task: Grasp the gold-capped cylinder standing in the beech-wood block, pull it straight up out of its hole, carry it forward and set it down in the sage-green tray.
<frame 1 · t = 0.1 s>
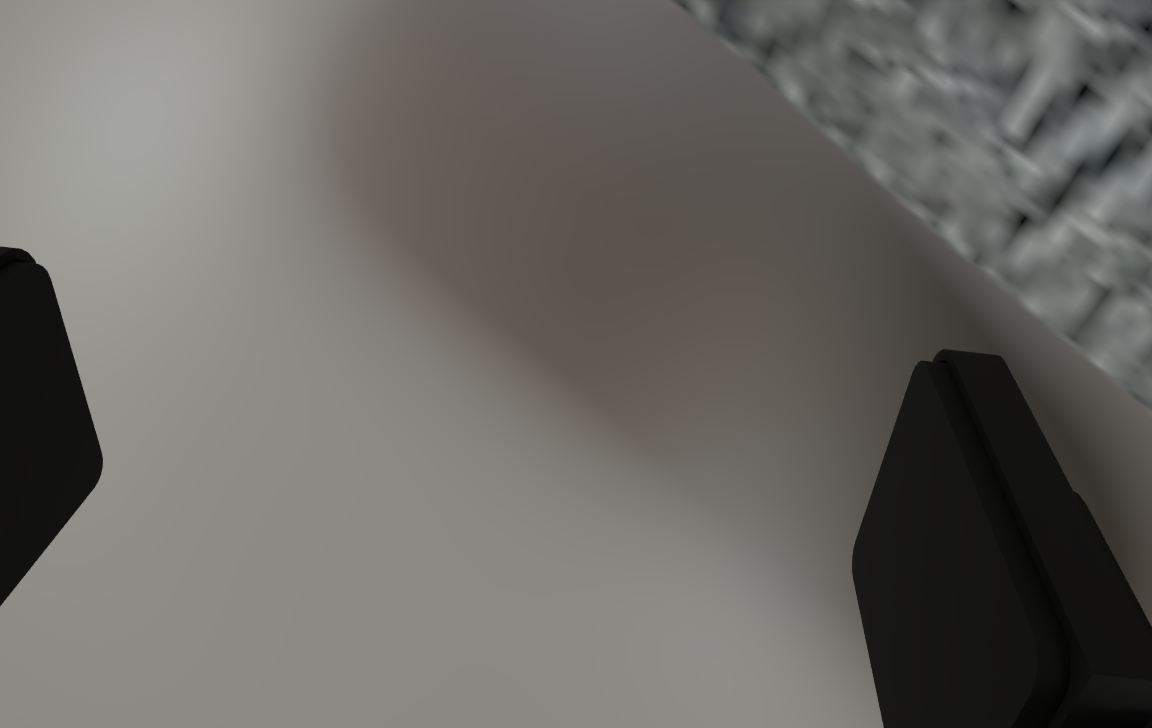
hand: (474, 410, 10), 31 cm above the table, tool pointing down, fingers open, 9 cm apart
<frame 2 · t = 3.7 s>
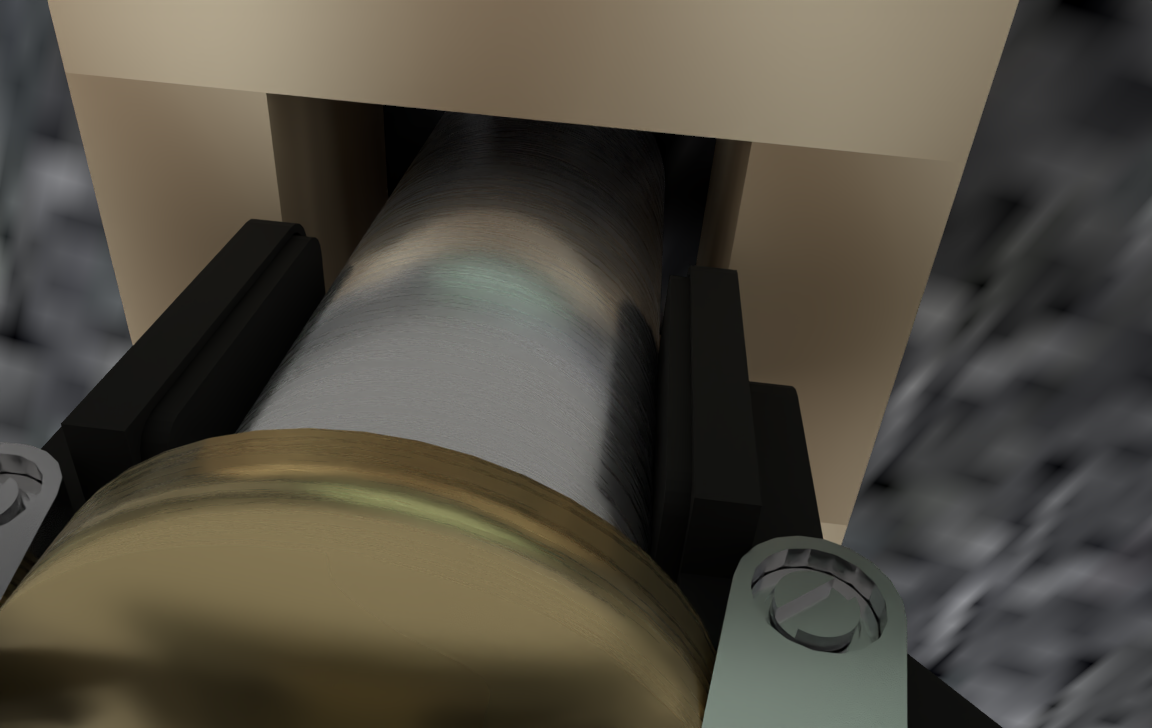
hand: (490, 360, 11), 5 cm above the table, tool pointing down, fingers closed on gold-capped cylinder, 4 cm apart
pin block: (545, 184, 15), on the table
gold-capped cylinder: (487, 368, 11), in the pin block, touching gripper
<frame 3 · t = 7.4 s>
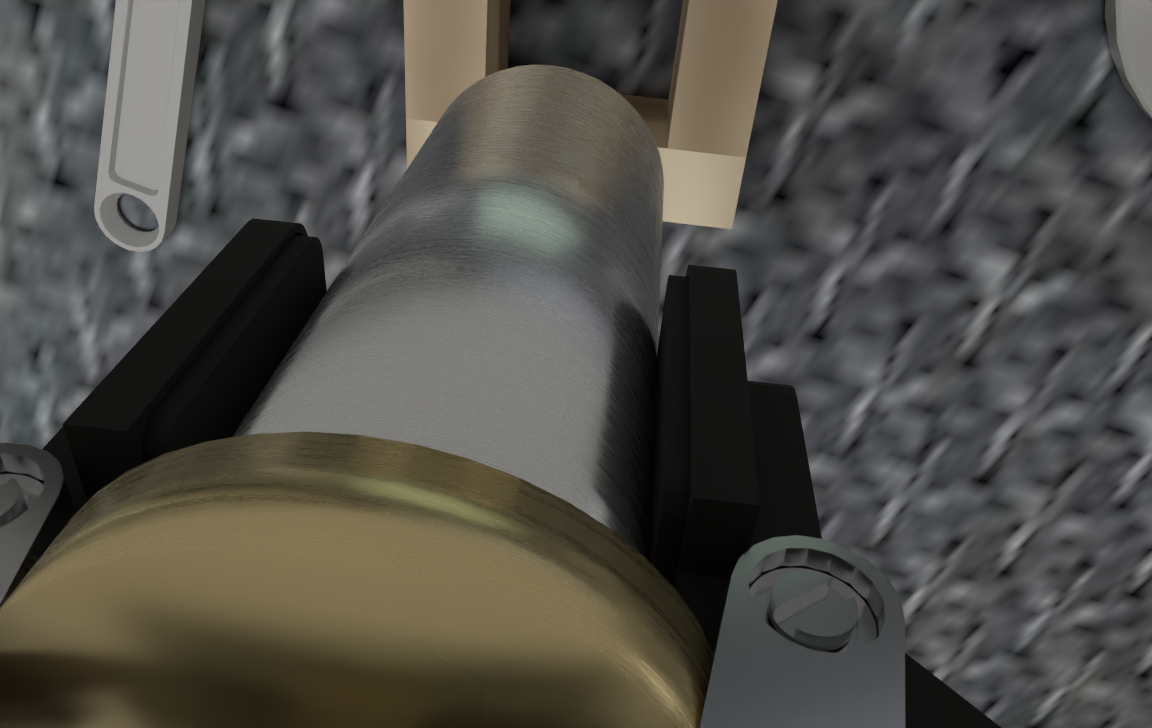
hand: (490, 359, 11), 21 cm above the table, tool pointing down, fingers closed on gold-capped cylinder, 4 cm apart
pin block: (595, 5, 29), on the table
gold-capped cylinder: (485, 369, 11), point 21 cm above the table, touching gripper
when the fingers open (8 cm above the table, at t = 11.3 s): gold-capped cylinder drops 2 cm, resting on tray.
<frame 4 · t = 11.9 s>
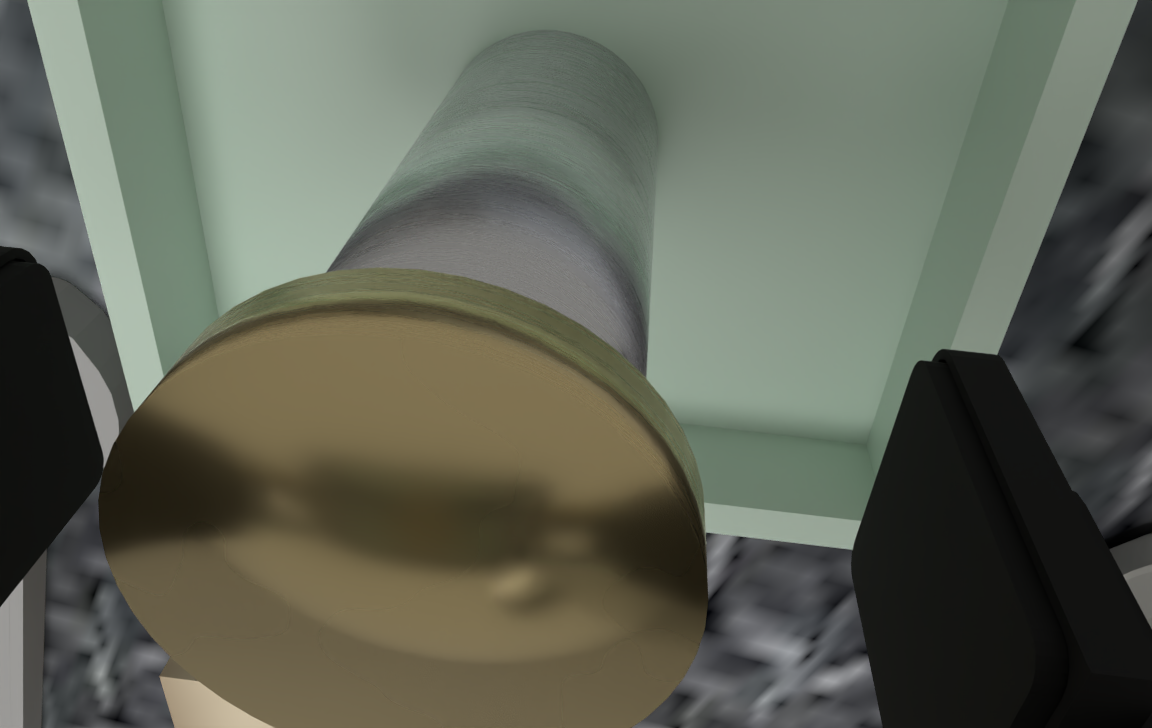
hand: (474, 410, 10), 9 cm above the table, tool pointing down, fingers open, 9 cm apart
tray: (561, 132, 17), on the table
pin block: (427, 676, 27), on the table
gold-capped cylinder: (503, 283, 12), in the tray
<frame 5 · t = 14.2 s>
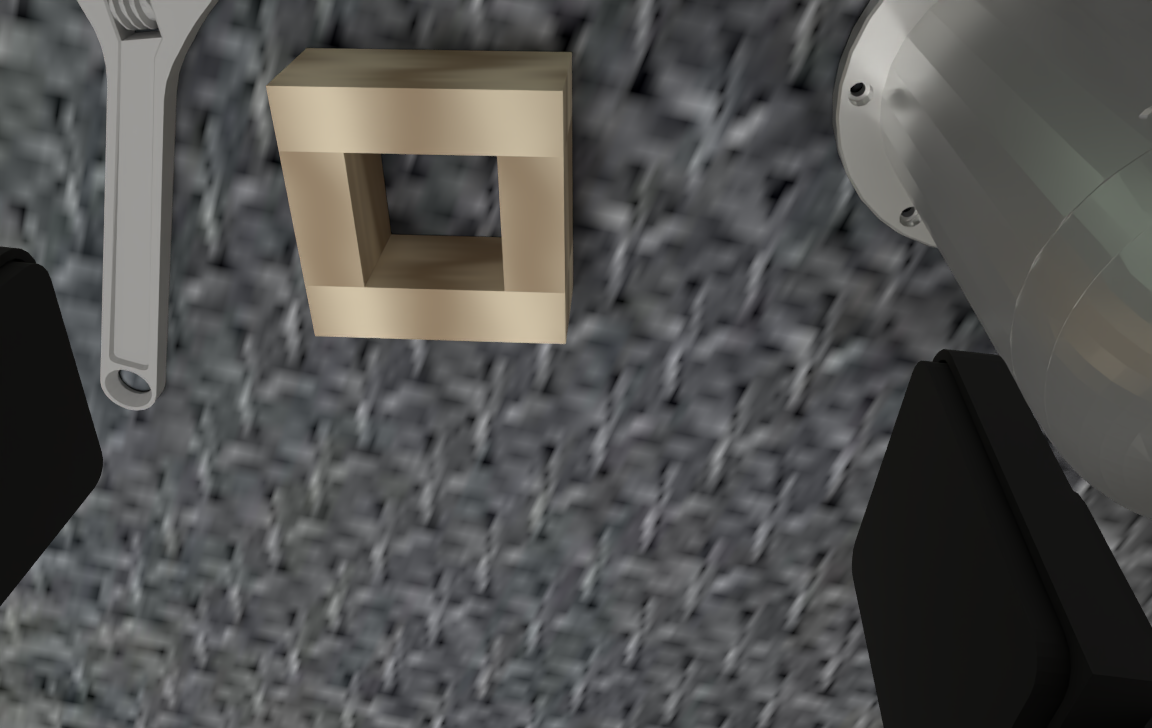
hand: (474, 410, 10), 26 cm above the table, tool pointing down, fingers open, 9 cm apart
adjustable wrench: (136, 149, 38), on the table
pin block: (449, 175, 37), on the table
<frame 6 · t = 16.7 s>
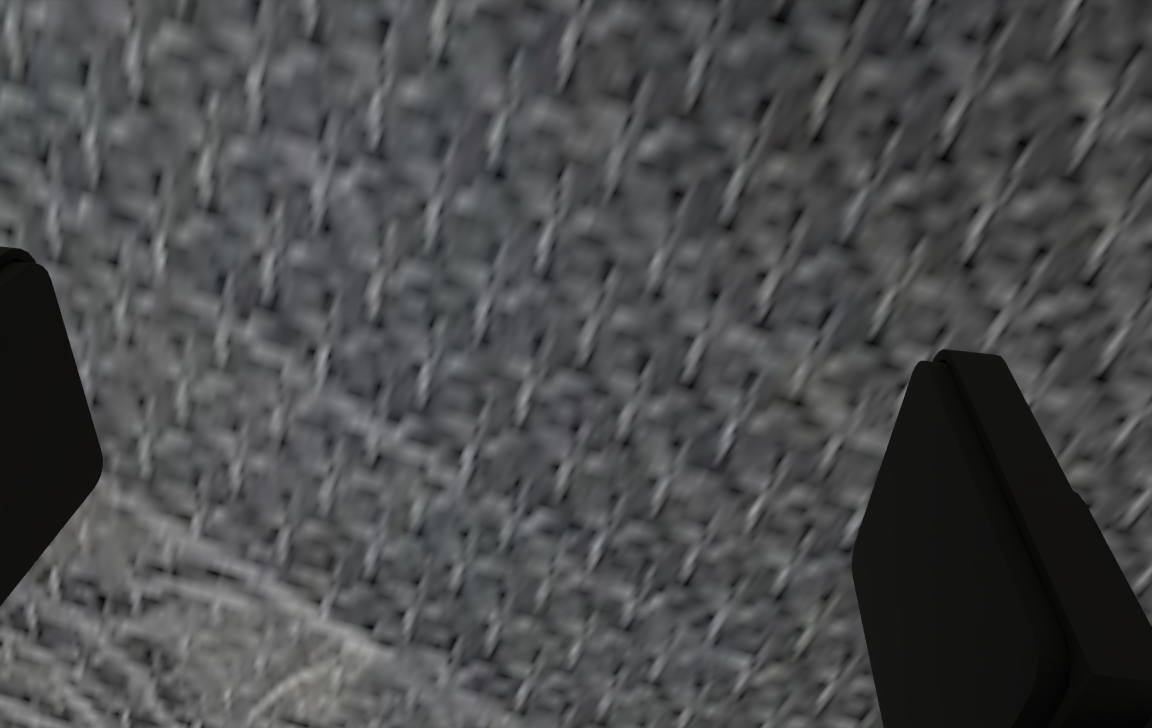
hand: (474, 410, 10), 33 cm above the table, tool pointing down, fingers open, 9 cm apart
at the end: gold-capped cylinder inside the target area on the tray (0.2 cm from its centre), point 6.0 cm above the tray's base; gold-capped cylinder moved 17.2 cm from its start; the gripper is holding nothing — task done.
